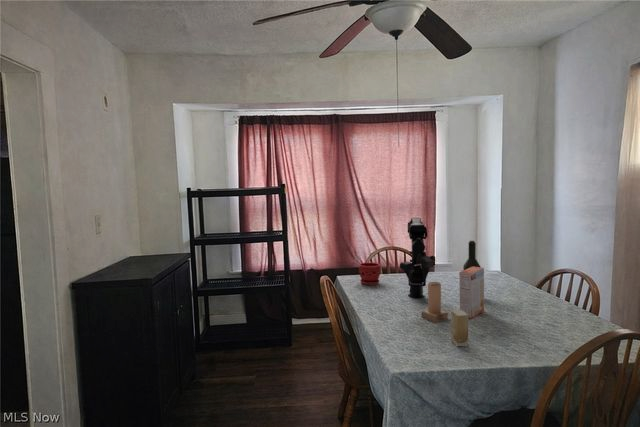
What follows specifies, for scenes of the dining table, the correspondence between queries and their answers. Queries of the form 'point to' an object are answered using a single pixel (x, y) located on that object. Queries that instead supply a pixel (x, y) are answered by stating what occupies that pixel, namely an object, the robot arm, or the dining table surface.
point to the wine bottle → (471, 256)
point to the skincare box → (459, 327)
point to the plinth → (434, 316)
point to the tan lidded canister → (434, 297)
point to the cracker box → (472, 291)
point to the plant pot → (369, 273)
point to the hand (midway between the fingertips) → (417, 281)
